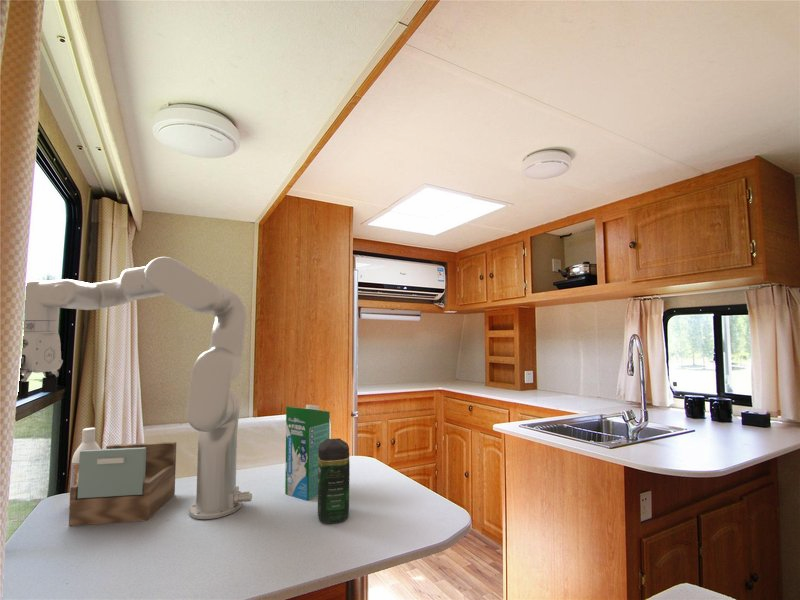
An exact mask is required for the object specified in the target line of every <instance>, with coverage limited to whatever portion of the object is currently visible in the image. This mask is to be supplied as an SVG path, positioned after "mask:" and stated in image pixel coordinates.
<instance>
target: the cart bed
mask: <svg viewBox="0 0 800 600" xmlns="http://www.w3.org/2000/svg"><path fill="white" fill-rule="evenodd" d="M142 447H146V467H145V483H144V493H143V494H141V495H125V496H108V497H92V498H77V496H78V484H76V485H74V486H73V487H71V489H70V488H69V502H70V503H69V508H68V509H69V511H68V526H69V525H72V526H86V525H98V524H101V525H102V524H114V523H115V522H116V523H127V522H129V523H130V522H131V523H132V522H142V520H145V521H149V520H150V519H151V518H152V517H153V516H154V515H155V514H156V513H158V511H159V510H161V508H163V507H164V506H165V505H166V504H167V503H168V502H169V501H170V500H171V499H172V498H173V497H174V496H175V494H176V468H177V467H176V463H177V441H168V442H167V441H166V442H165V441H164V442H163V441H162V442H147V443H142V442H141V443H123V444H122V443H120V444H109V445H106V447H105V449H120V448H142ZM164 504H165V505H164ZM163 505H164V506H163ZM148 519H149V520H148Z"/></svg>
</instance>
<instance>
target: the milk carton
mask: <svg viewBox="0 0 800 600" xmlns="http://www.w3.org/2000/svg"><path fill="white" fill-rule="evenodd" d="M285 408H286V409H285V478H284V479H285V482H284V483H285V485H284V486H285V487H284V488H285V490H284V493H285V495H288V496H290V497H295V498H298V499H302V500H305V501H310V500H312V499H314V498H315V497H318V452H319V450H318V447H319V445H320V444H321V443H322V442H323V441H325V440H326V439H331V438H330V436H331V435H330V430H331V429H330V424H331V423H330V422H331V421H330V420H331V419H330V418H331V416H330V415H331V414H330V413H331V411H327V410H320V406H319V405H313V404H306V405H305V408H303V407H295V406H288V405H286V406H285Z"/></svg>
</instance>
